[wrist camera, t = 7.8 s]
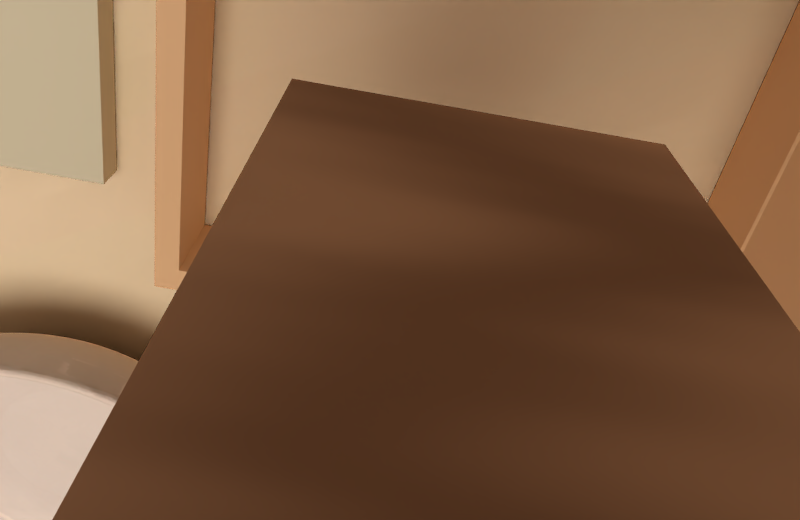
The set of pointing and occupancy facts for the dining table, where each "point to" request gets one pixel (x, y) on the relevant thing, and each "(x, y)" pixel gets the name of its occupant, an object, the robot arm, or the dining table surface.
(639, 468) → the walnut box
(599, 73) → the dining table surface
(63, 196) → the dining table surface
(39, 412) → the serving bowl
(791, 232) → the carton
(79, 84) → the board
